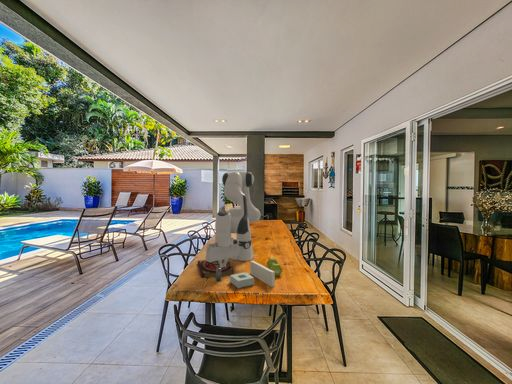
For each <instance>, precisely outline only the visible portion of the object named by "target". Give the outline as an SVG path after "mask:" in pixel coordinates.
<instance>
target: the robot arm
mask: <svg viewBox="0 0 512 384" xmlns="http://www.w3.org/2000/svg"><path fill="white" fill-rule="evenodd" d="M221 179H222V180H221V182H222V184H223V186H224V187H223V188H224V189H223V194H224V196H225V198H226V200H228V201H230V202H232V203H235V204H236V205H238V206H240V207H232V208H231V207H230V208H229V209H228V211H224V210H223V211H218V212H217V213H216V216H215V222H214V223H215V224H214V230H215V235H214V243H209V244H208V245H207V246H206V249H205V250H206V251H205V260H206V261H208V262H214V261H218V262H219V264H220V268H223V267H226V263H227V261H228V260H229V259H231V260H232V261H242V262H243V261H245V262H246V261H252V260H253V258H254V257H255V254H254V251H253V250H254V248H253V245H252V244H253V243H252V237H251V236H252V230H251V229H250V228H251V227H250V223H257V222H258V221H260V219H261V216H262V215H261V211H260V210H259V208H256V206H255V205H254V204H253V203H252V200H251V196H250V195H251V194H250V188H251V187H252V186H254V181H255V176H254V174H253V173H252V172H250V171H246V172H245V171H230V172H229V171H228V172H225V173H223V174H222V177H221ZM232 234H236V237H235V238H236V239H235V238H233V237H232ZM223 259H224V262H223V263H222V260H223Z"/></svg>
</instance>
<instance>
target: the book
mask: <svg viewBox="0 0 512 384" xmlns="http://www.w3.org/2000/svg"><path fill="white" fill-rule="evenodd" d="M223 262H224V259H223V260H222V263H223ZM197 266H198V269H199V273H200V275H201V278H202V279H203V278H207V277H216V268H220V264H219V262H218V261H214V262H208V261H206V259H202V260H197ZM234 271H235V268H234V266H233V265H232V263H231V262H230V260H229V259H228V261H227V263H226V267H223V268H221V276H229V275H234V274H235V272H234Z"/></svg>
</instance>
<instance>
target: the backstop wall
mask: <svg viewBox="0 0 512 384" xmlns="http://www.w3.org/2000/svg"><path fill="white" fill-rule="evenodd" d="M249 271H250V273H249V275H251V276H252V277H254V278H257V279H258V280H260V281H261V282H263V283H265V284H266V285H268V286H270V287H275V283H276V280H275V278H276V276H275V272H274V271H272V270H270V269H269V268H268V267H267V266H264V265H263V264H260V263H258V262H256V261H255V260H250V269H249Z"/></svg>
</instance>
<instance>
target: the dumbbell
mask: <svg viewBox="0 0 512 384" xmlns="http://www.w3.org/2000/svg"><path fill="white" fill-rule="evenodd" d="M266 267H267V268H268V269H270V270H272V271H274V272H275V277H280V275H282V273H283V267H282V266H281V265H280V264H279V262H278V260H277V259H276V258H274V257H271V258H269V259H268V260H267V261H266Z"/></svg>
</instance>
